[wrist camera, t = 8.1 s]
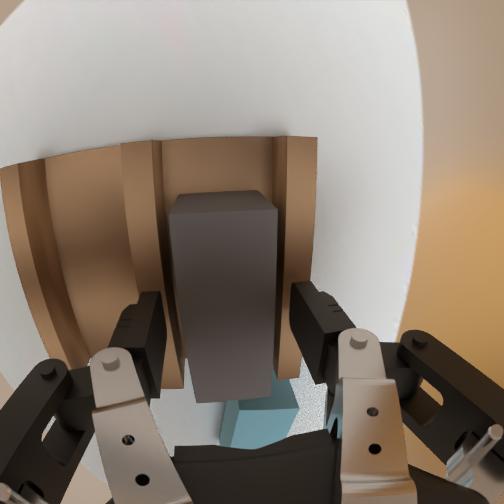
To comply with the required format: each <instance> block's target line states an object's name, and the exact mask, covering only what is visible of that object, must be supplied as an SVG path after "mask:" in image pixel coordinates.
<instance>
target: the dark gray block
mask: <svg viewBox="0 0 504 504" xmlns="http://www.w3.org/2000/svg"><path fill="white" fill-rule="evenodd" d="M277 222H278V209H277V208H276V207H275V206H274V205H273V204H272V203H271V202H270V201H268V200H267V199H266V198H265V197H264V196H263V195H262V194H261V193H260V192H259V191H258V190H248V191H223V192H203V193H187V194H179V195H178V197H177V199H176V201H175V203H174V205H173V207H172V209H171V211H170V213H169V227H170V237H171V247H172V256H173V265H174V273H175V281H176V289H177V296H178V303H179V310H180V316H181V323H182V329H183V335H184V341H185V347H186V353H187V358H188V364H189V369H190V374H191V379H192V384H193V389H194V394H195V398H196V403H208V402H222V401H234V400H245V399H254V398H262V397H270V396H271V388H272V369H273V348H274V325H275V298H276V266H277Z"/></svg>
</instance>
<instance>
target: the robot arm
mask: <svg viewBox="0 0 504 504" xmlns="http://www.w3.org/2000/svg"><path fill="white" fill-rule="evenodd" d="M289 324H290V328H291V331H292V333H293V336H294V338H295V340H296V342H297V344H298V347H299V349H300V351H301V353H302V356H303V358H304V360H305V362H306V365H307V367H308V369H309V371H310V374H311V376H312V378H313V380H314V382H315V385H316V384H321V383H326V384H327V386H328V388H327V392H326V400H325V414H324V427H323V429H322V430H318V431H313V432H308V433H303V434H298V435H293V436H290V437H287V438H285V439H282V440H280V441H277V442H274V443H272V444H269V445H266V446H264V447H261V448H258V449H241V448H232V447H224V446H217V445H202V446H175V449H174V456H173V457H170V456H169V454H168V451H167V449H166V447H165V445H164V442H163V440H162V438H161V436H160V433H159V431H158V428H157V426H156V424H155V421H154V419H153V416H152V414H151V411H150V409H149V406H150V399H151V398H160V391H161V382H162V373H163V365H164V357H165V350H166V342H167V326H166V320H165V314H164V308H163V302H162V297H161V293H160V291H145V292H141V294H140V297H139V299H138V302H137V304H129V305H128V306H127V307H126V308H125V309H124V310H123V311H122V312H121V315H120V317H119V321H118V322H117V325H116V328H115V330H114V332H113V335H112V337H111V340H110V342H109V345H108V348H107V349H103V350H101V351H99V352H98V353H96V354H95V355H94V356H93V357H92V359H91V361H90V366H87V367H83V368H77V369H72V370H68V368H67V365H66V364H65V362H64V361H62V360H60V359H54V358H53V359H47V360H44V361H42V362H40V363H38V364H37V365H36V366H35V367H34V368H33V369H32V371H31V372H30V373H29V374H28V375H27V377H26V378H25V379H24V380H23V382H22V383H21V384H20V385H19V387H18V388H17V389H16V390H15V392H14V393H13V394H12V396H11V397H10V398H9V400H8V401H7V402H6V403H5V405H4V406H3V407H2V409H1V410H0V504H60V503H61V501H62V499H63V496H64V494H65V492H66V490H67V488H68V485H69V483H70V481H71V479H72V477H73V475H74V472H75V471H76V469H77V466H78V464H79V462H80V460H81V458H82V456H83V454H84V452H85V450H86V448H87V446H88V444H89V442H90V440H91V438H92V436H93V434H94V432H95V433H96V437H97V442H98V446H99V451H100V455H101V459H102V463H103V467H104V470H105V474H106V477H107V481H108V484H109V487H110V490H111V494H112V498H111V499H110V500H109V501H108V502H107V503H106V504H495V503H496V502H497V500H498V499H499V498H500V496H501V495H502V494H503V492H504V389H503V388H501V387H500V386H499V385H497V384H496V383H495V382H493V381H492V380H491V379H490V378H488V377H487V376H486V375H484V374H483V373H482V372H480V371H479V370H478V369H476V368H475V367H474V366H472V365H471V364H470V363H468V362H467V361H466V360H464V359H463V358H462V357H460V356H459V355H458V354H456V353H455V352H454V351H452V350H451V349H450V348H448V347H447V346H445V345H444V344H443V343H441V342H440V341H438V340H437V339H436V338H434V337H433V336H432V335H430V334H428V333H426V332H424V331H420V330H409V331H406V332H405V333H403V335H402V337H401V340H400V343H392V342H379V339H378V338H377V336H376V335H375V334H373V333H372V332H370V331H368V330H365V329H360V328H356V326H355V325H354V324H353V322H352V321H351V320H350V319H349V317H348V316H347V315H346V313H345V312H344V311H343V309H342V308H341V307H340V305H338V303H337V302H336V300H335V299H334V298H333V297H332V296H330V295H329V294H327V293H325V292H324V291H322V292H318V290H317V289H316V288H315V286H314V285H313V283H312V282H311V281H303V282H293V283H292V284H291V292H290V307H289ZM423 379H425V380H426V381H427V382H429V383H430V384H431V385H432V386H433V387H435V389H437V390H438V391H439V392H440V393H441V395H442V397H443V405H442V406H441V405H440V404H438V402H436V401H435V400H434V399H433V398H432V397H431V396H430V395H428V394H427V393H426V392H425V391H424V390H423V389H422V388H421V387H420V385H421V383H422V381H423ZM53 416H54V417H55V419H56V420H55V422H54V423H53V425H52V426H51V428H50V430H49V431H48V433H47V435H46V436H45V438H44V440H43V441H41V438H42V433H43V431H44V429H45V428H46V426H47V425H48V423H49V421H50V420H51V418H52V417H53ZM403 423H404V424H405V425H406V426H407V427H408V428H409V429H410V430H411V431H412V432H413V433H414V434H415V435H416V436H417V437H418V438H419V439H420V440H421V441H422V442H423V443H424V444H425V445H426V446H427V447H428V448H429V449H430V450H431V451H432V452H433V453H434V454H435V455H436V456H437V457H438V458H439V459H440V460H441V461H442V462H443V463H444V464H445V465H446V468H447V475H446V477H445V479H443V478H441V477H438V476H435V475H433V474H431V473H428V472H426V471H423V470H421V469H419V468H416V467H414V466H412V465H409V464H408V461H407V453H406V444H405V436H404V429H403Z"/></svg>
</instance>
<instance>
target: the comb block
mask: <svg viewBox="0 0 504 504" xmlns="http://www.w3.org/2000/svg"><path fill="white" fill-rule="evenodd" d="M316 175H317V137H300V136H279V137H211V138H191V139H176V140H163V141H158V140H149V141H140V142H131V143H123V144H121V145H118V146H111V147H104V148H97V149H91V150H85V151H79V152H74V153H69V154H63V155H58V156H54V157H49V158H44V159H39V160H34V161H28V162H24V163H19V164H15V165H11V166H7V167H4V168H0V180H1V189H2V197H3V204H4V210H5V216H6V222H7V227H8V232H9V237H10V242H11V246H12V251H13V255H14V259H15V262H16V266H17V270H18V273H19V277H20V280H21V284H22V287H23V290H24V293H25V296H26V299H27V302H28V305H29V308H30V311H31V314H32V316H33V319H34V322H35V324H36V327H37V329H38V332H39V334H40V337H41V339H42V341H43V344H44V346H45V348H46V351H47V353H48V355H49V357H50V359H53V358H54V359H60V360H62V361H64V362H65V364H66V365H67V368H68V370H72V369H77V368H83V367H87V365H88V362H89V360H90V358H92V357H93V356H94V355H95V354H96V353H98V352H99V351H101V350H103V349H107V348H108V345H109V342H110V340H111V337H112V335H113V332H114V330H115V328H116V325H117V322H118V321H119V317H120V315H121V312H122V311H123V310H124V309H125V308H126V307H127V306H128V305H129V304H137V302H138V299H139V297H140V294H141V292H145V291H160V293H161V297H162V302H163V308H164V314H165V320H166V326H167V342H166V350H165V357H164V365H163V373H162V382H161V389H183V388H184V364H185V358H187V353H186V347H185V341H184V335H183V329H182V323H181V316H180V310H179V303H178V296H177V289H176V281H175V273H174V265H173V256H172V247H171V237H170V227H169V213H170V211H171V209H172V207H173V205H174V203H175V201H176V199H177V197H178V195H179V194H187V193H203V192H223V191H248V190H258V191H259V192H260V193H261V194H262V195H263V196H264V197H265V198H266V199H267V200H268V201H270V202H271V203H272V204H273V205H274V206H275V207H276V208H277V209H278V222H277V266H276V298H275V325H274V348H273V368H274V371H275V375H276V378H277V381H279V380H286V379H293V378H299V373H300V366H301V359H302V353H301V351H300V349H299V347H298V344H297V342H296V340H295V338H294V336H293V333H292V331H291V328H290V324H289V307H290V292H291V284H292V283H293V282H303V281H310V275H311V263H312V250H313V235H314V219H315V200H316Z"/></svg>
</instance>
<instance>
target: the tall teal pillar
mask: <svg viewBox="0 0 504 504" xmlns="http://www.w3.org/2000/svg"><path fill="white" fill-rule="evenodd" d="M298 410H299V406H298V403H297V401H296V398H295V395H294V392H293V389H292V387H291V384H290V381H289V379H286V380H279V381H277V378H276V375H275V371H274V368H273V369H272V388H271V396H270V397H262V398H254V399H245V400H234V401H226V405H225V410H224V416H223V421H222V426H221V432H220V437H219V440H220V446H224V447H232V448H241V449H258V448H261V447H264V446H266V445H269V444H272V443H274V442H277V441H280V440H282V439H285V438H286V436H287V434H288V432H289V430H290V427H291V425H292V423H293V421H294V419H295V417H296V414H297V412H298Z"/></svg>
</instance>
